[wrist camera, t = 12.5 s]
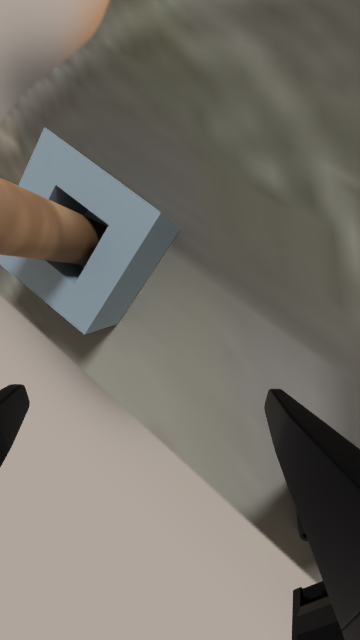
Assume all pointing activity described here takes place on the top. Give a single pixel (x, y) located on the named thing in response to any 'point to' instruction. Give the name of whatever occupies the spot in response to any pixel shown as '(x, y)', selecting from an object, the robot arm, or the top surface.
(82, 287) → the hole block
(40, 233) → the walnut peg
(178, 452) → the top surface
